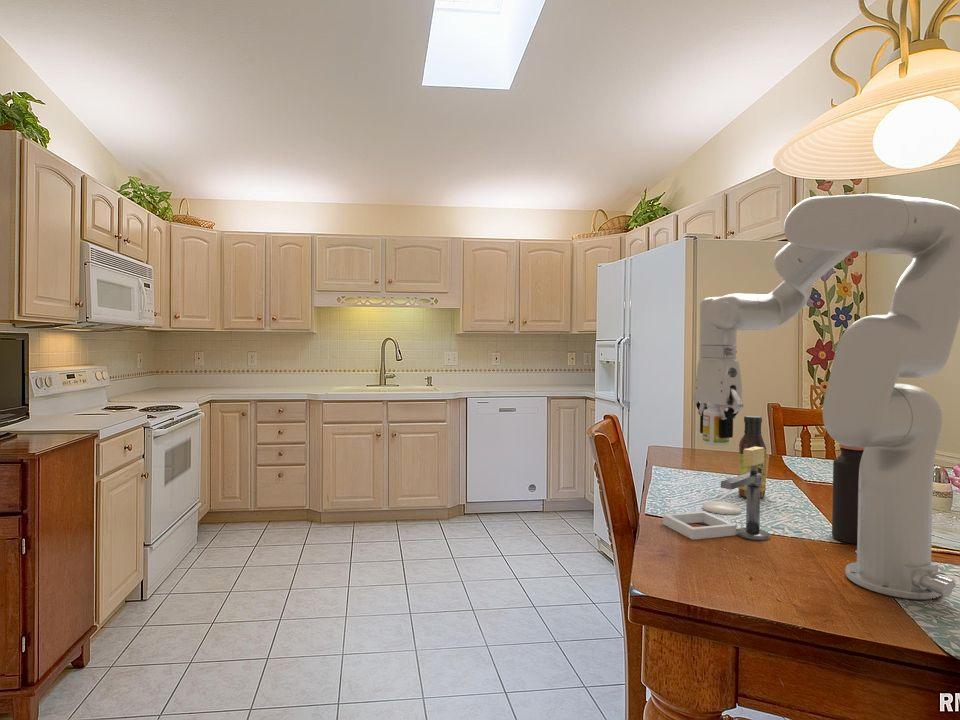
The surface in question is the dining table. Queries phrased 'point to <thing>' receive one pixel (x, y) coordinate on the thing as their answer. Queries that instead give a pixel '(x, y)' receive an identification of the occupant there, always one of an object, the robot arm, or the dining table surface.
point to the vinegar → (846, 494)
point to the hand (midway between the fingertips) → (716, 434)
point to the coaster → (721, 507)
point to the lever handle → (752, 459)
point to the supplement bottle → (712, 426)
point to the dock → (714, 530)
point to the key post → (753, 517)
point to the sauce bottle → (748, 441)
